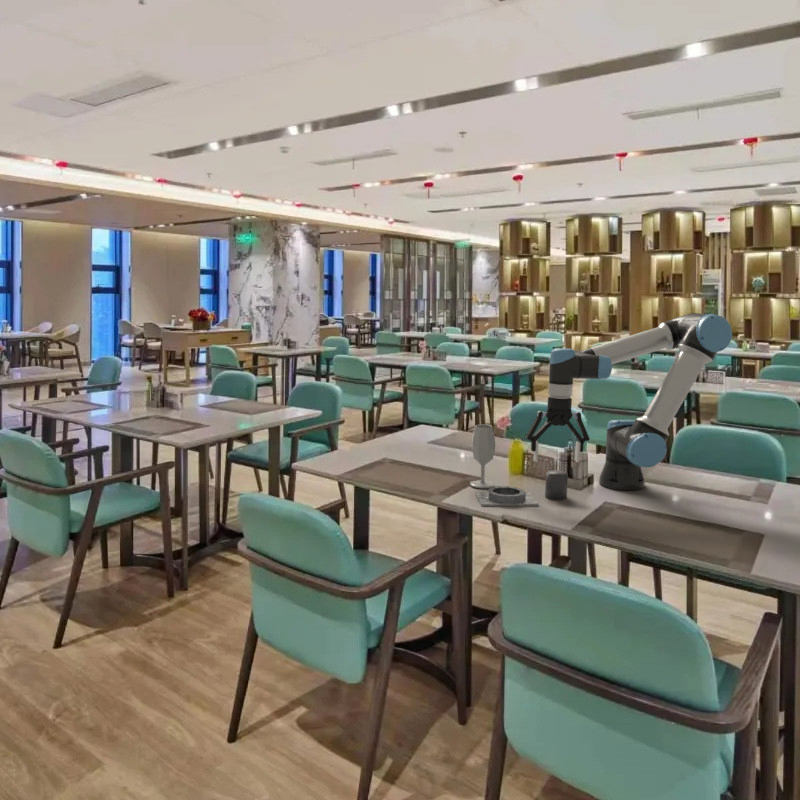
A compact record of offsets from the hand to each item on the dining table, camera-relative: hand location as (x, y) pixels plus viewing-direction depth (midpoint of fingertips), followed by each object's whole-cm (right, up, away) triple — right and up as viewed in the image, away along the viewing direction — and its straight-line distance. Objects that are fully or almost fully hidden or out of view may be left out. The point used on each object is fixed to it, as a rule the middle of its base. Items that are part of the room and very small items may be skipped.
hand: (556, 461), depth 239 cm
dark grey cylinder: (0, -12, +2) cm, 12 cm away
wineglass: (-22, -10, +15) cm, 28 cm away
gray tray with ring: (-17, -12, -2) cm, 21 cm away
